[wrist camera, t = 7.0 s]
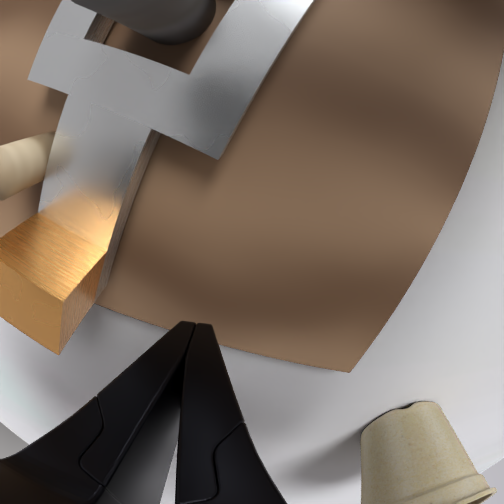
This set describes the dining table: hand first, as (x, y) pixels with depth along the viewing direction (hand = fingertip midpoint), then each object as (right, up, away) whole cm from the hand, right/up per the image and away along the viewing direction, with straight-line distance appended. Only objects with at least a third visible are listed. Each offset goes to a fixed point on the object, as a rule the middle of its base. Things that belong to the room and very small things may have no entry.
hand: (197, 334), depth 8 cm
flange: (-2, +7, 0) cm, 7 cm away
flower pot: (+12, -10, +9) cm, 18 cm away
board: (-1, +9, 0) cm, 9 cm away
